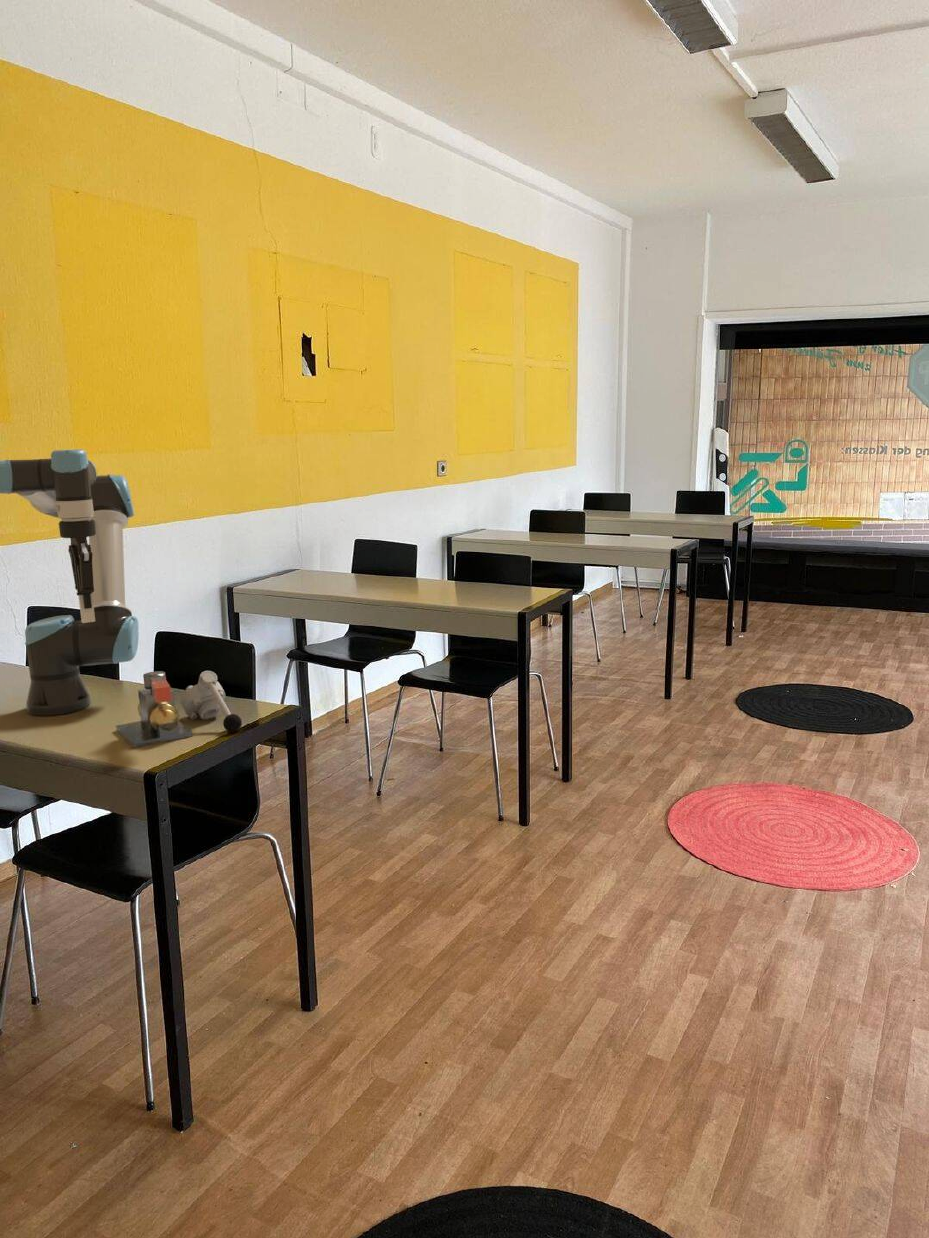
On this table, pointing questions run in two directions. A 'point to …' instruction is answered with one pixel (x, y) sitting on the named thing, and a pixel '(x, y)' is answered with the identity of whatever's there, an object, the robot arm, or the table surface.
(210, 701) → the mechanical valve
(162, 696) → the lever
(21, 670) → the table surface
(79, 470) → the robot arm
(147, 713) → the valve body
